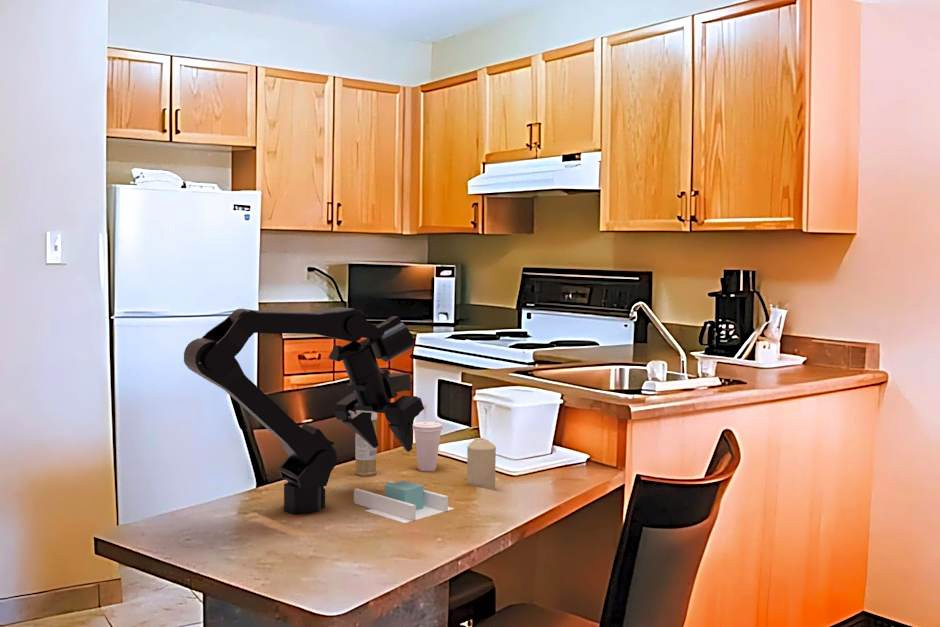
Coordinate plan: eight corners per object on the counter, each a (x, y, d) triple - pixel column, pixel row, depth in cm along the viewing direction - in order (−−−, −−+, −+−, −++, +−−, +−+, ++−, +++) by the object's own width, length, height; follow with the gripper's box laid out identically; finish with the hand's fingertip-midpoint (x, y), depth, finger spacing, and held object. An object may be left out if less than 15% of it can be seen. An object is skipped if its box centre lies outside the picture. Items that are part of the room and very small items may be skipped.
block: (404, 513, 157) (404, 490, 157) (385, 507, 161) (385, 485, 160) (423, 508, 160) (423, 485, 160) (403, 502, 164) (403, 480, 164)
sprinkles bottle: (369, 470, 193) (369, 407, 192) (381, 474, 190) (381, 410, 189) (350, 473, 190) (350, 409, 190) (362, 477, 187) (362, 412, 186)
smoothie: (408, 466, 197) (409, 402, 196) (437, 464, 199) (438, 401, 198) (416, 473, 191) (416, 407, 190) (445, 471, 193) (446, 406, 192)
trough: (404, 531, 152) (404, 508, 152) (346, 513, 162) (346, 490, 162) (454, 516, 161) (454, 494, 160) (396, 500, 171) (396, 478, 170)
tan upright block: (499, 491, 178) (500, 441, 177) (473, 494, 176) (473, 442, 175) (488, 484, 183) (489, 435, 182) (462, 487, 181) (463, 437, 180)
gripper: (429, 353, 163) (456, 429, 167) (361, 353, 175) (388, 424, 180) (387, 382, 155) (416, 461, 160) (319, 379, 168) (348, 453, 172)
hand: (392, 448), depth 168 cm, fingers open, 9 cm apart
